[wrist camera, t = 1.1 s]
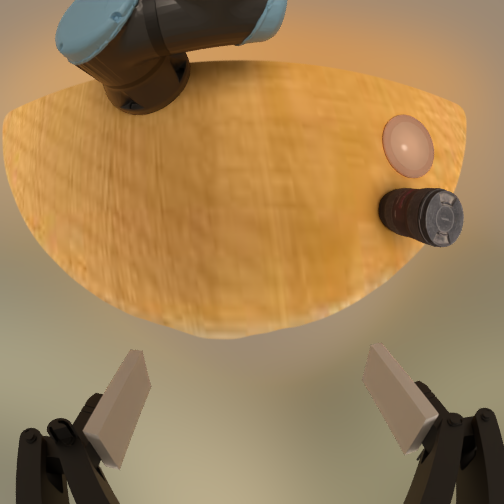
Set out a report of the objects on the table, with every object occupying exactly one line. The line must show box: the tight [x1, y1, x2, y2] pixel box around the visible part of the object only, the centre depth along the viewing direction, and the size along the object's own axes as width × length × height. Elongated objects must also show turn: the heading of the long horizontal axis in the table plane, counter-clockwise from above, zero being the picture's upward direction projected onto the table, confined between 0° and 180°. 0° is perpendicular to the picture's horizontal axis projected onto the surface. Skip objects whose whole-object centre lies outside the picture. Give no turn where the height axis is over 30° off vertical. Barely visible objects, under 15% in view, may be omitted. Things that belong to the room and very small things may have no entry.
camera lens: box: [379, 188, 464, 247], centre depth 36 cm, size 8×8×15 cm
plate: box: [382, 115, 434, 178], centre depth 41 cm, size 12×12×1 cm
